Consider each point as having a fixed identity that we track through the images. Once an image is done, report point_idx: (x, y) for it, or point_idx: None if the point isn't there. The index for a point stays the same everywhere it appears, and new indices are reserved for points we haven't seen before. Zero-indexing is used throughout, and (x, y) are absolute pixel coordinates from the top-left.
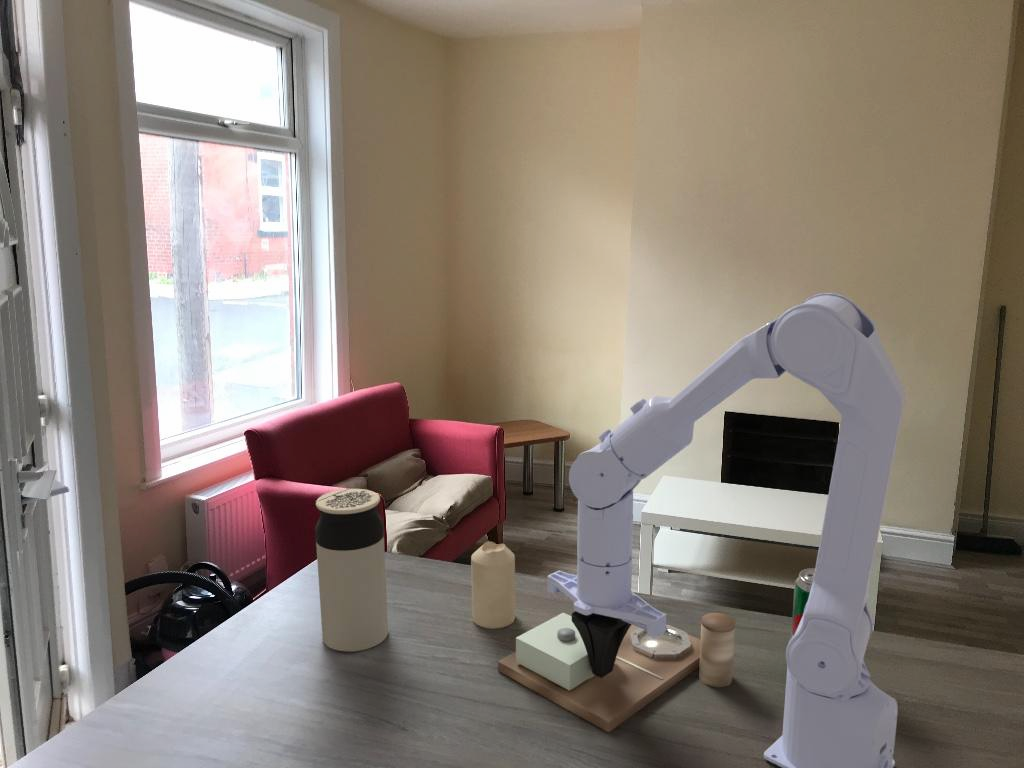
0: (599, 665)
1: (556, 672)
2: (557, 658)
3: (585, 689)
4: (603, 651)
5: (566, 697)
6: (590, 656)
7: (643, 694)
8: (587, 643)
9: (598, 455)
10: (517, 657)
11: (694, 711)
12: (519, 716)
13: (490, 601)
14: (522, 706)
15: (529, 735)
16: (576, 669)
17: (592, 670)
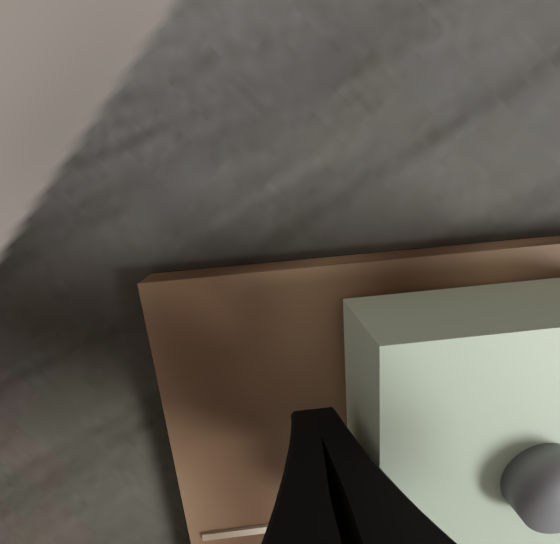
0: (294, 445)
1: (425, 307)
2: (463, 340)
3: (317, 347)
4: (265, 532)
5: (331, 272)
6: (351, 458)
7: (182, 455)
8: (389, 519)
9: None
10: None
11: (87, 499)
12: (396, 114)
13: None
14: (425, 160)
15: (301, 65)
16: (365, 367)
17: (331, 414)
